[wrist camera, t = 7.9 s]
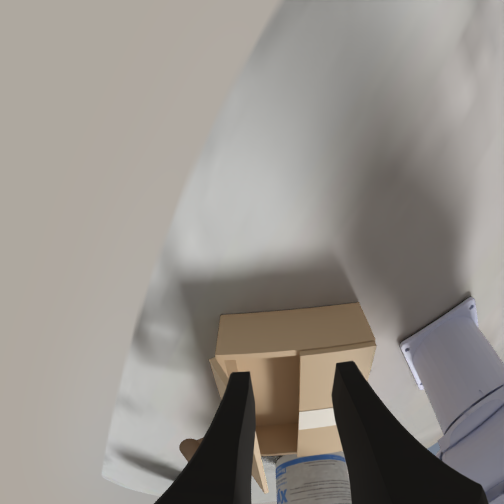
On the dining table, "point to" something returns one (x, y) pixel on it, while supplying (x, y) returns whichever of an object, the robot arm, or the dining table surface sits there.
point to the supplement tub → (313, 479)
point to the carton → (295, 370)
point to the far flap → (191, 445)
